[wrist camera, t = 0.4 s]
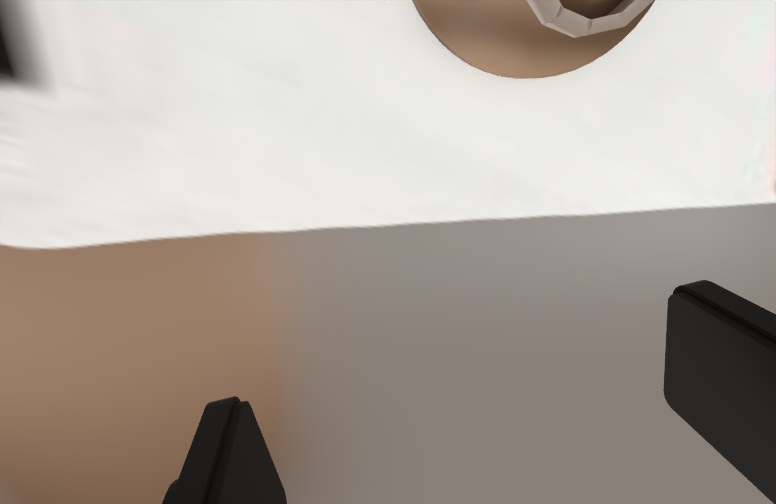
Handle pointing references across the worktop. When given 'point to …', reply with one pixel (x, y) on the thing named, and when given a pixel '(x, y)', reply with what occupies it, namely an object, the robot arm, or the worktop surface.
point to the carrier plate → (530, 32)
